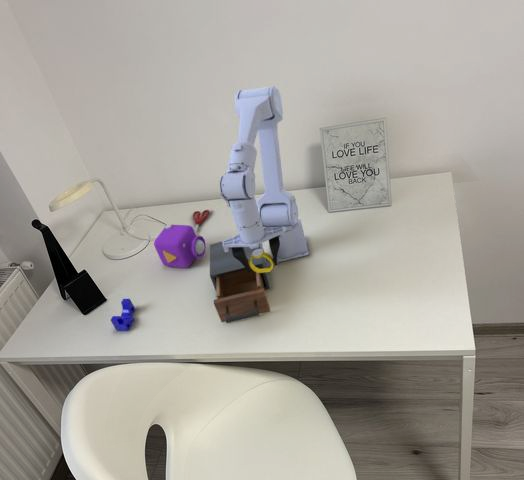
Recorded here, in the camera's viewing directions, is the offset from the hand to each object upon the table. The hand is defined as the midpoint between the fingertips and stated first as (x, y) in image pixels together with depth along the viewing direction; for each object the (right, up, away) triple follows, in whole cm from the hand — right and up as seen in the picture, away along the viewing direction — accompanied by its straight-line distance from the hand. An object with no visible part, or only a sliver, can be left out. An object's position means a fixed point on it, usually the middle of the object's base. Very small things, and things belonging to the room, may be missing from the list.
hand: (262, 266), depth 132 cm
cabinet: (-5, -2, +15) cm, 16 cm away
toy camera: (-22, +4, +28) cm, 36 cm away
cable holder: (-36, -14, +14) cm, 41 cm away
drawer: (-4, -10, +5) cm, 12 cm away
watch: (+1, -1, +1) cm, 2 cm away
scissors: (-20, +15, +40) cm, 47 cm away
